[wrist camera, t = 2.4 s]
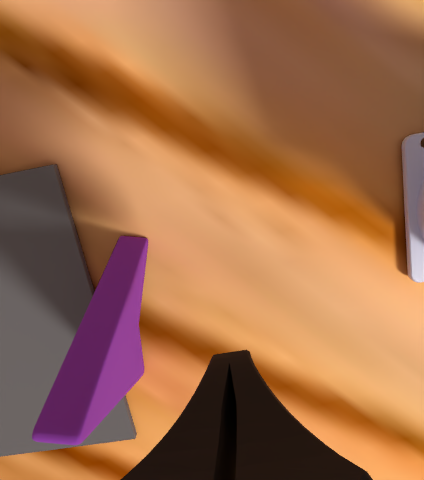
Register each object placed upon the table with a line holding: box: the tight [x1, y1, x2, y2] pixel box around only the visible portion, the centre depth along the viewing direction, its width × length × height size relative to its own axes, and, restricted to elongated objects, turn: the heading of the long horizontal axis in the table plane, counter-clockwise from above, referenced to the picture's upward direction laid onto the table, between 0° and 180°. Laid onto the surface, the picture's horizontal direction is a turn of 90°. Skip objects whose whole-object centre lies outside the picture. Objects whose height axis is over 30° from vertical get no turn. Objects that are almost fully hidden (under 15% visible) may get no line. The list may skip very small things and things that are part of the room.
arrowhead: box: [32, 236, 148, 445], centre depth 17 cm, size 10×2×10 cm
